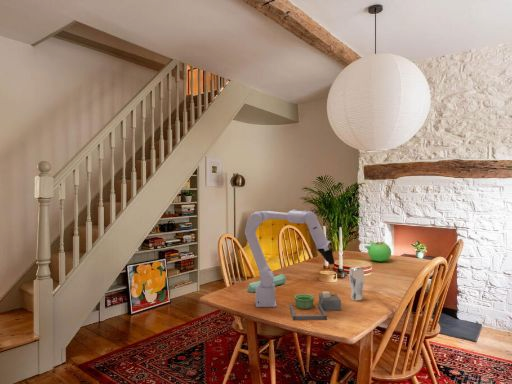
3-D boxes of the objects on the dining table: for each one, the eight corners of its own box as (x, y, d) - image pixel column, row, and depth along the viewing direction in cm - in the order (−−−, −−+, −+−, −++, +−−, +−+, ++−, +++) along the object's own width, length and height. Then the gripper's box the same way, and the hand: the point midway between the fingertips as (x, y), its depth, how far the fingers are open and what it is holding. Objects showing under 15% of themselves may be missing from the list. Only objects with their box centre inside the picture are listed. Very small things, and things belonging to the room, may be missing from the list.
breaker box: (323, 310, 151) (322, 299, 151) (319, 302, 161) (318, 292, 161) (341, 310, 151) (340, 298, 151) (335, 302, 161) (335, 291, 161)
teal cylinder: (250, 282, 177) (284, 272, 194) (244, 284, 182) (277, 275, 198) (253, 293, 176) (287, 283, 192) (247, 295, 180) (280, 285, 196)
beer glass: (361, 296, 169) (361, 266, 169) (366, 301, 162) (366, 269, 162) (347, 296, 169) (347, 266, 169) (352, 301, 162) (351, 270, 162)
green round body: (388, 264, 238) (388, 243, 238) (364, 262, 246) (363, 242, 246) (393, 259, 253) (392, 240, 253) (369, 257, 262) (369, 238, 262)
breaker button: (323, 299, 154) (323, 293, 154) (322, 297, 157) (322, 291, 157) (330, 299, 154) (330, 293, 154) (328, 297, 157) (328, 291, 157)
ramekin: (316, 304, 159) (316, 295, 159) (311, 310, 151) (311, 301, 151) (297, 302, 163) (297, 293, 163) (292, 308, 155) (292, 298, 155)
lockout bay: (293, 320, 140) (293, 316, 140) (289, 308, 154) (289, 304, 154) (326, 319, 140) (326, 315, 140) (320, 307, 154) (320, 304, 154)
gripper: (329, 233, 151) (342, 261, 150) (323, 230, 165) (334, 256, 165) (314, 240, 151) (327, 268, 150) (309, 236, 165) (321, 262, 165)
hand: (330, 262), depth 157 cm, fingers open, 7 cm apart
